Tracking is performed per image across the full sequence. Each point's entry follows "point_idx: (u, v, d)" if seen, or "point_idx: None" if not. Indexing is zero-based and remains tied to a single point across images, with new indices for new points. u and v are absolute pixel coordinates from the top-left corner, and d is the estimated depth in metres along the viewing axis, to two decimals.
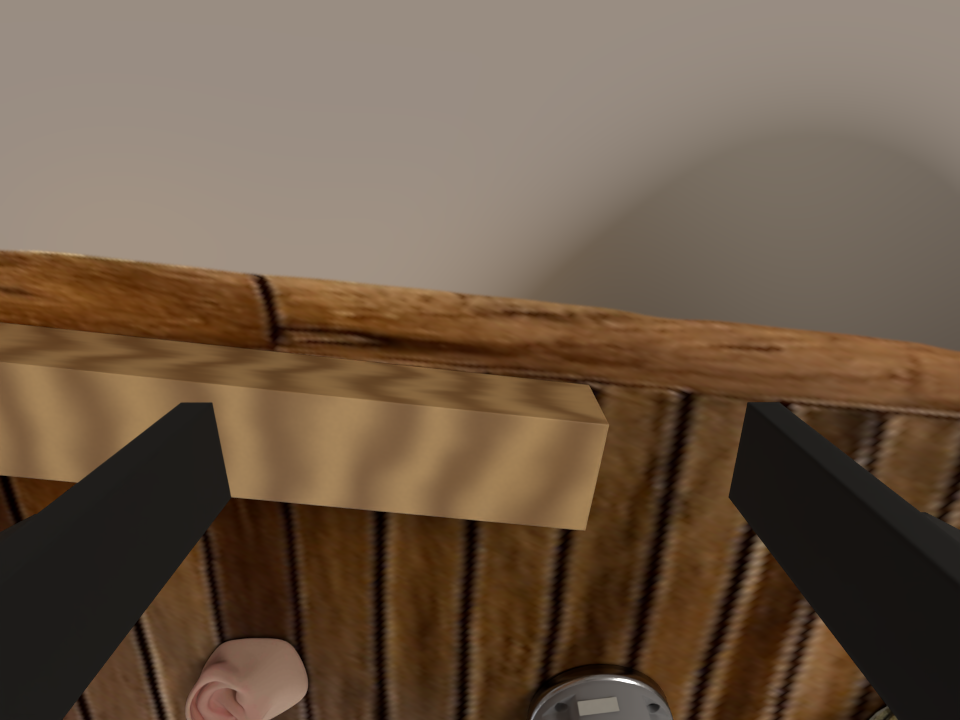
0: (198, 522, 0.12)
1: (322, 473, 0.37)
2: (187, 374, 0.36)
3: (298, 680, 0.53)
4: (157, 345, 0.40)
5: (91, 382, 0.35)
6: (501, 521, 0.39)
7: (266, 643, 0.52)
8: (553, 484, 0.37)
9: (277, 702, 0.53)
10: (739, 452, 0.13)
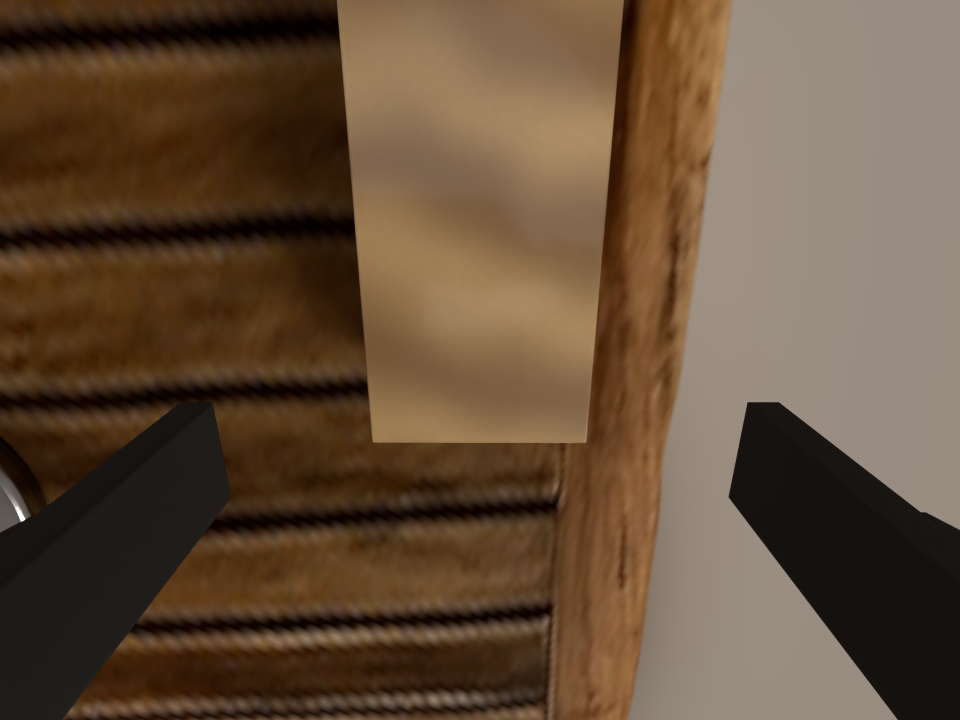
0: (198, 522, 0.12)
1: None
2: None
3: None
4: None
5: None
6: (363, 293, 0.19)
7: None
8: (462, 375, 0.21)
9: None
10: (739, 452, 0.13)
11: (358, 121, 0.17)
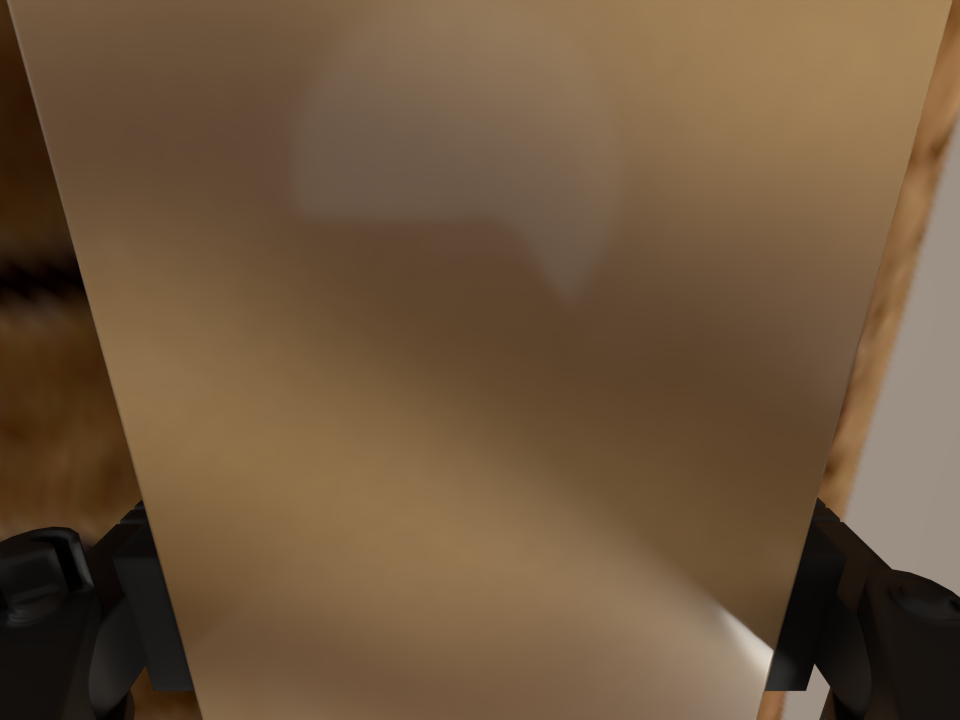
0: None
1: None
2: None
3: None
4: None
5: None
6: (153, 510, 0.07)
7: None
8: (436, 688, 0.08)
9: None
10: None
11: None
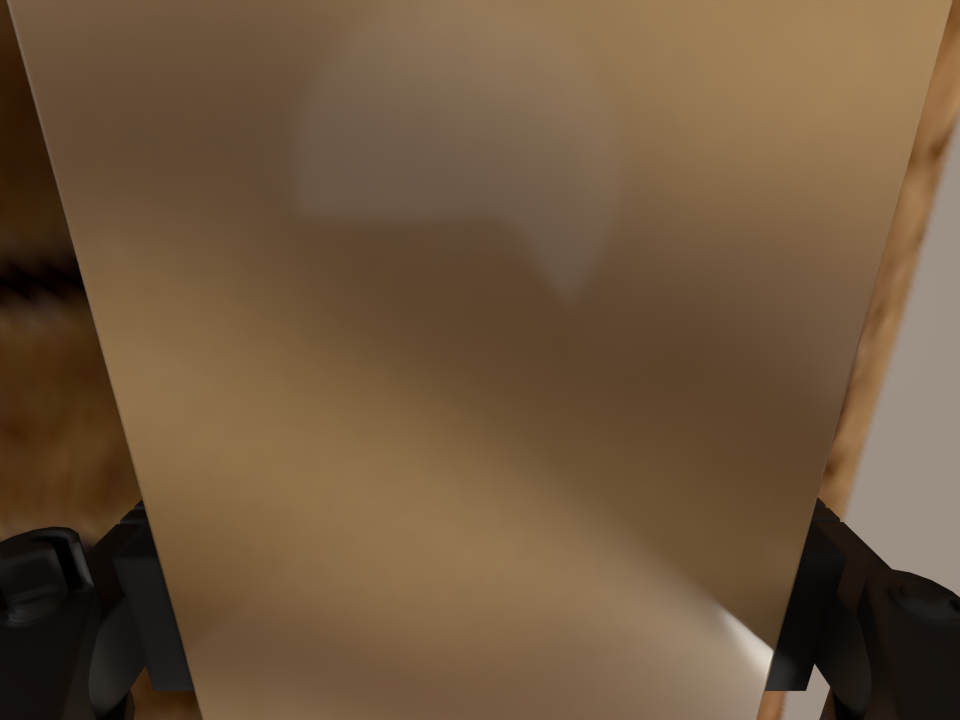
0: None
1: None
2: None
3: None
4: None
5: None
6: (153, 510, 0.07)
7: None
8: (436, 688, 0.08)
9: None
10: None
11: None
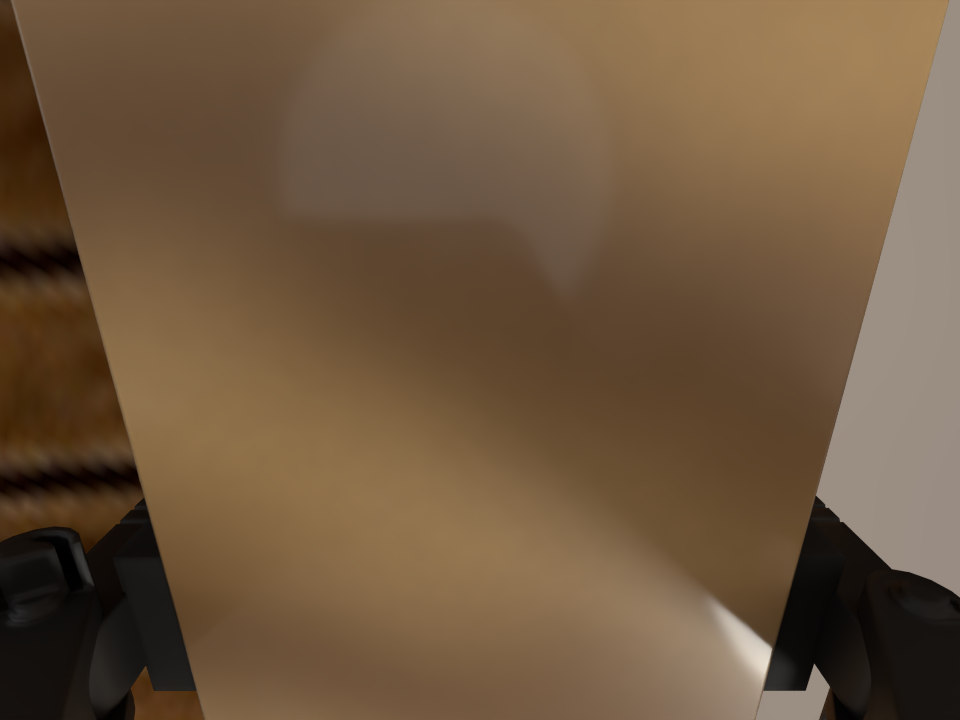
0: None
1: None
2: None
3: None
4: None
5: None
6: (154, 507, 0.07)
7: None
8: (436, 686, 0.08)
9: None
10: None
11: None
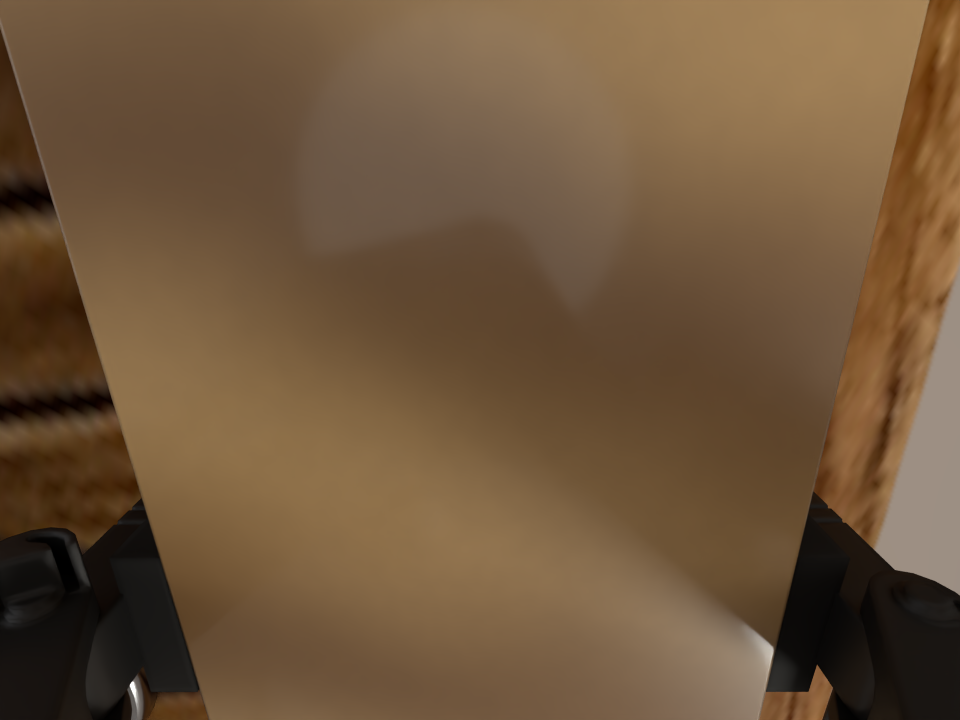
0: None
1: None
2: None
3: None
4: None
5: None
6: (153, 511, 0.07)
7: None
8: (438, 684, 0.08)
9: None
10: None
11: None
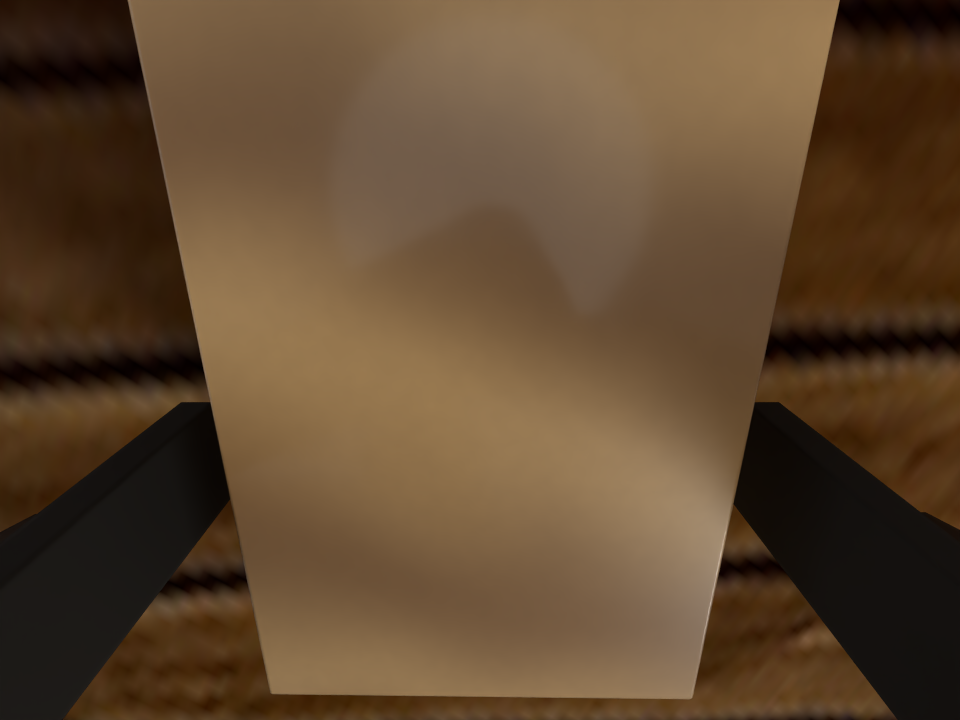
0: (198, 522, 0.12)
1: None
2: None
3: None
4: None
5: None
6: (222, 429, 0.09)
7: None
8: (444, 585, 0.10)
9: None
10: None
11: (162, 24, 0.07)
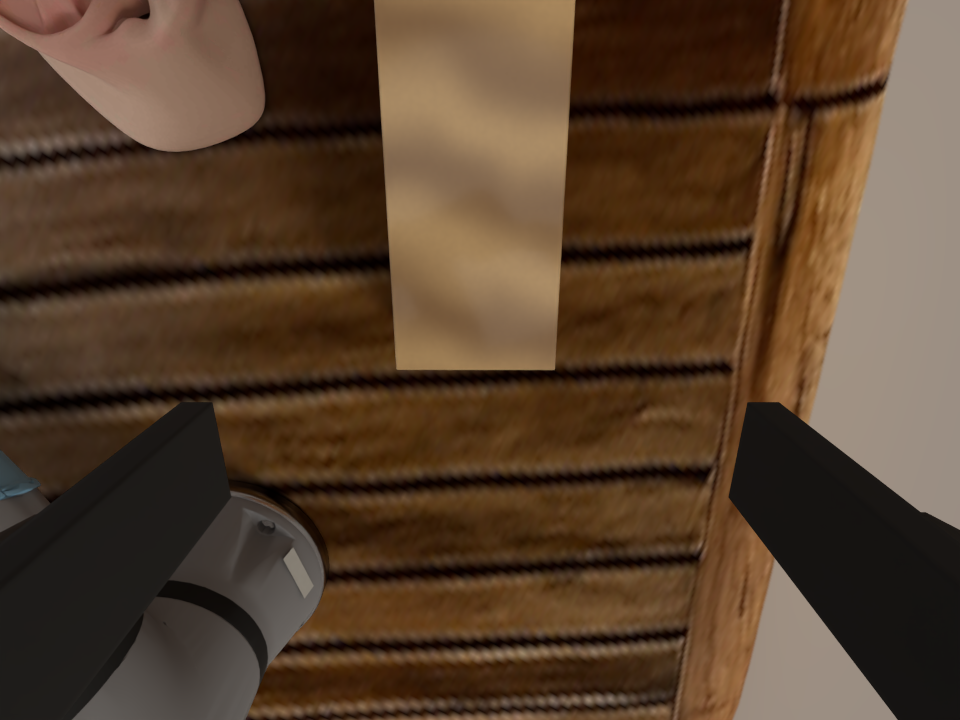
0: (198, 522, 0.12)
1: None
2: None
3: (186, 137, 0.31)
4: None
5: None
6: (391, 256, 0.27)
7: (255, 76, 0.30)
8: (462, 318, 0.28)
9: (131, 99, 0.29)
10: (739, 452, 0.13)
11: (390, 134, 0.25)
